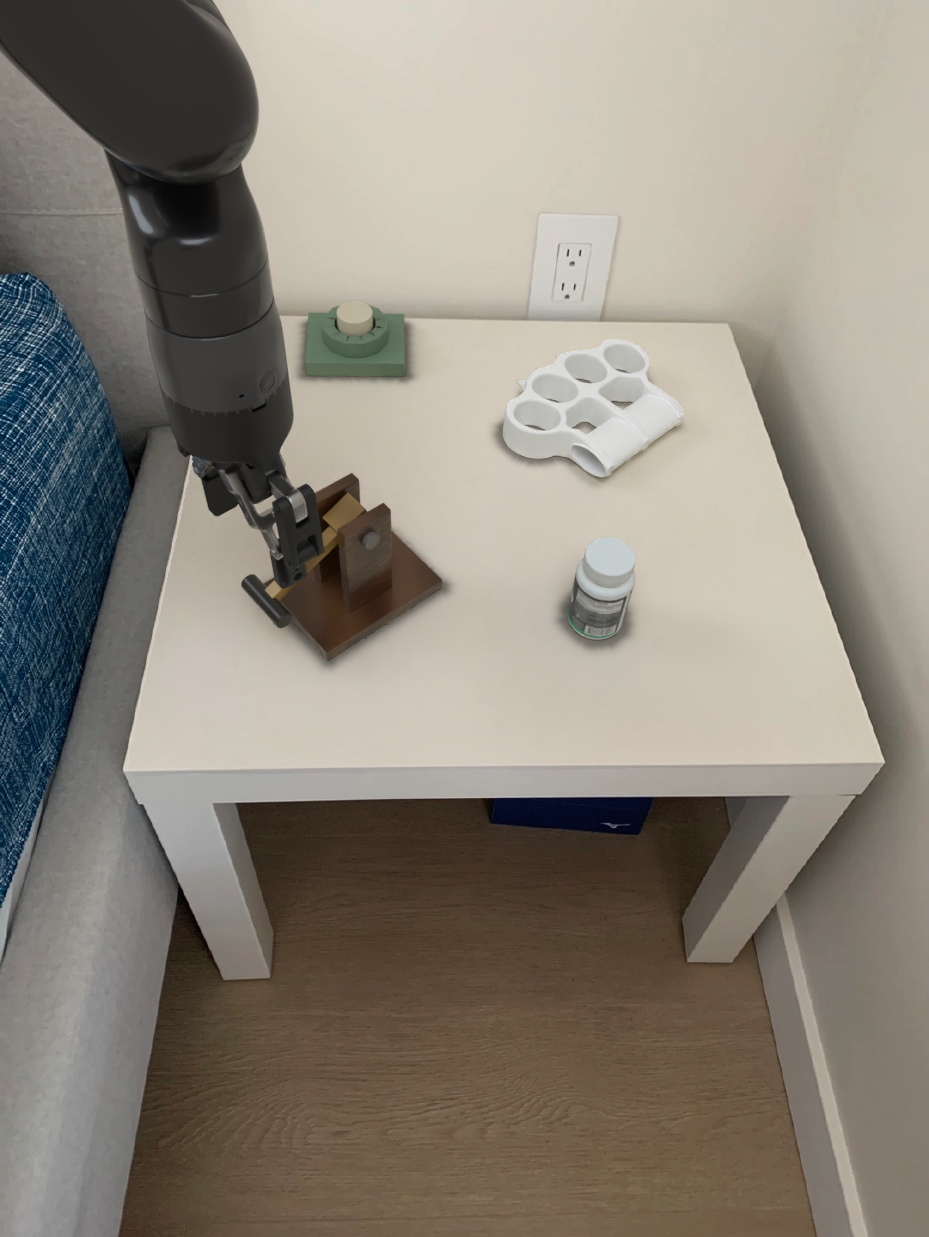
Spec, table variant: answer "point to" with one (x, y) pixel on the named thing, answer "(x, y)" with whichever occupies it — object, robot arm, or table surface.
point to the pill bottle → (602, 588)
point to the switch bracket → (357, 578)
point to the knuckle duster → (590, 408)
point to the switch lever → (274, 593)
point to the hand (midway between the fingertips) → (257, 543)
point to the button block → (355, 347)
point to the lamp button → (354, 318)
